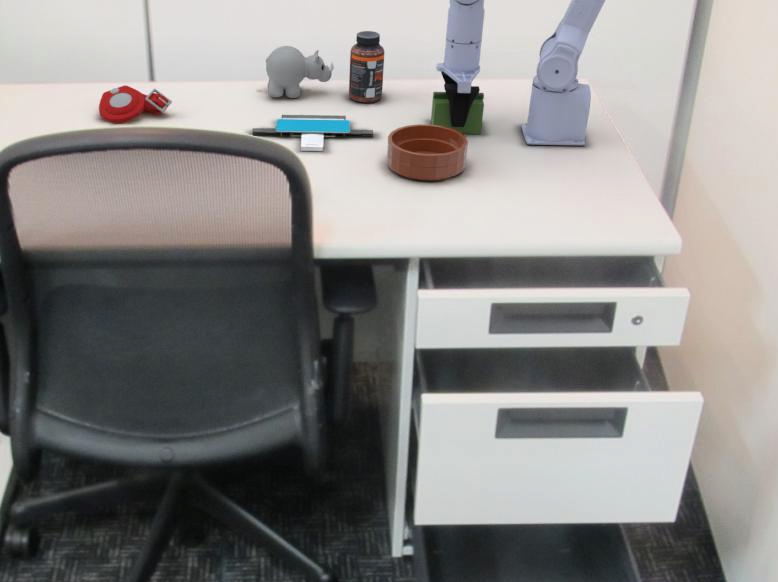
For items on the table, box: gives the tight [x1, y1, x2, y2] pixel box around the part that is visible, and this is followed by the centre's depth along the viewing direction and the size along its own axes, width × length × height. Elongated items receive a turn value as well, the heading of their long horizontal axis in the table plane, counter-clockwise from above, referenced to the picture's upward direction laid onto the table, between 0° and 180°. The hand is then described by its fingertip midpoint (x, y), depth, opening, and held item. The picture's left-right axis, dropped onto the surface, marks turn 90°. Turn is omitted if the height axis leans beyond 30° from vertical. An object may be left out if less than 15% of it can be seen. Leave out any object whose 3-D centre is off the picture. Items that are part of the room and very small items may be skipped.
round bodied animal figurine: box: [265, 45, 334, 99], centre depth 198 cm, size 7×12×8 cm, turn 92°
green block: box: [430, 91, 485, 135], centre depth 186 cm, size 8×5×6 cm, turn 88°
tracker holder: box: [98, 84, 173, 124], centre depth 192 cm, size 12×4×10 cm
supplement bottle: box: [348, 30, 385, 103], centre depth 196 cm, size 6×6×11 cm
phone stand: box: [251, 114, 374, 152], centre depth 184 cm, size 20×12×2 cm, turn 89°
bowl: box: [386, 123, 468, 182], centre depth 174 cm, size 12×12×4 cm
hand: (456, 119), depth 187 cm, fingers closed on green block, 5 cm apart
